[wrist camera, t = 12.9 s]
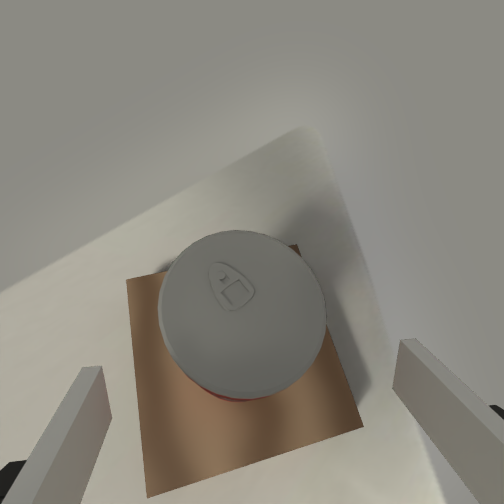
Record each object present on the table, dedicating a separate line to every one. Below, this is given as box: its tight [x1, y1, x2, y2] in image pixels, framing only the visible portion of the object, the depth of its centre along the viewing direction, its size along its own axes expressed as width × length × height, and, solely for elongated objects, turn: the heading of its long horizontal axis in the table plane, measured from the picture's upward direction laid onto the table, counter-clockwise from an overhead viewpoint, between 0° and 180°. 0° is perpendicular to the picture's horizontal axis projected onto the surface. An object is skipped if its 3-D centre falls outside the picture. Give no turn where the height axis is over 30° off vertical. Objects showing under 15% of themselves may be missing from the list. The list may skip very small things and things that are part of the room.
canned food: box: [158, 230, 327, 402], centre depth 19 cm, size 8×8×11 cm
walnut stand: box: [126, 244, 364, 498], centre depth 25 cm, size 15×15×4 cm
